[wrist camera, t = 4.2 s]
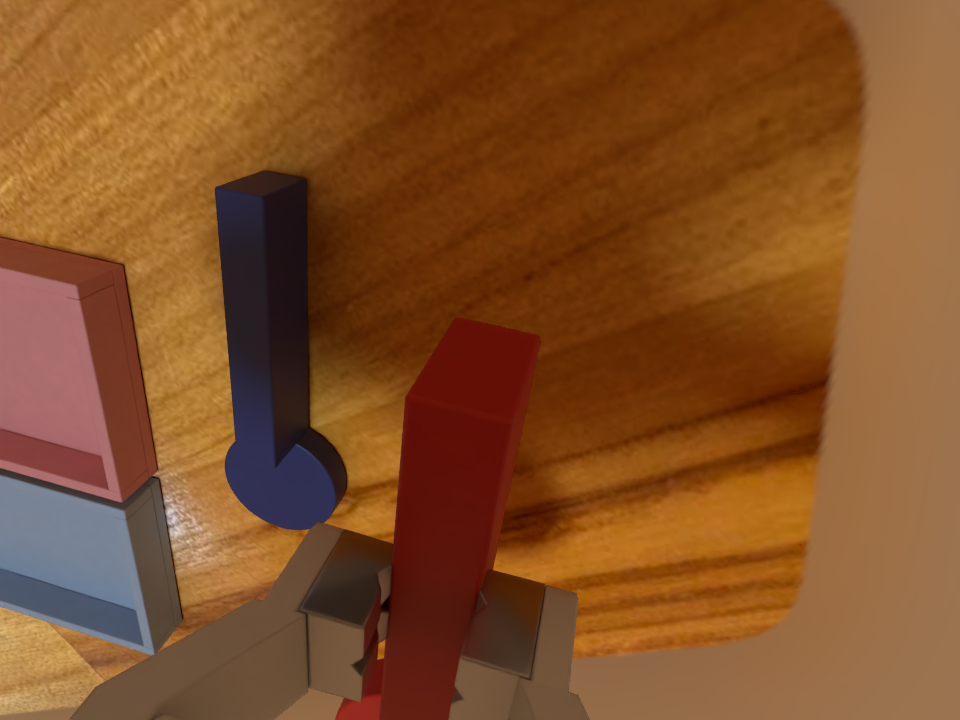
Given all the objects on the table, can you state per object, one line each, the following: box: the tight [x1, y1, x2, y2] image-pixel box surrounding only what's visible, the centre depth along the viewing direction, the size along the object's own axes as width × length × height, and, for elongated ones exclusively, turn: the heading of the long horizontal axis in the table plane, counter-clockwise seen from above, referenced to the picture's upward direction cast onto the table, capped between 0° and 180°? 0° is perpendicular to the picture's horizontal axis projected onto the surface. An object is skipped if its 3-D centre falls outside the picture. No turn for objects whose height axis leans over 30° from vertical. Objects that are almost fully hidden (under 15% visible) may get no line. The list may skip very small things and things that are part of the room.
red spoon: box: [335, 318, 541, 720], centre depth 12 cm, size 13×4×2 cm, turn 172°
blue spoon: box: [215, 171, 346, 530], centre depth 20 cm, size 13×4×2 cm, turn 172°
